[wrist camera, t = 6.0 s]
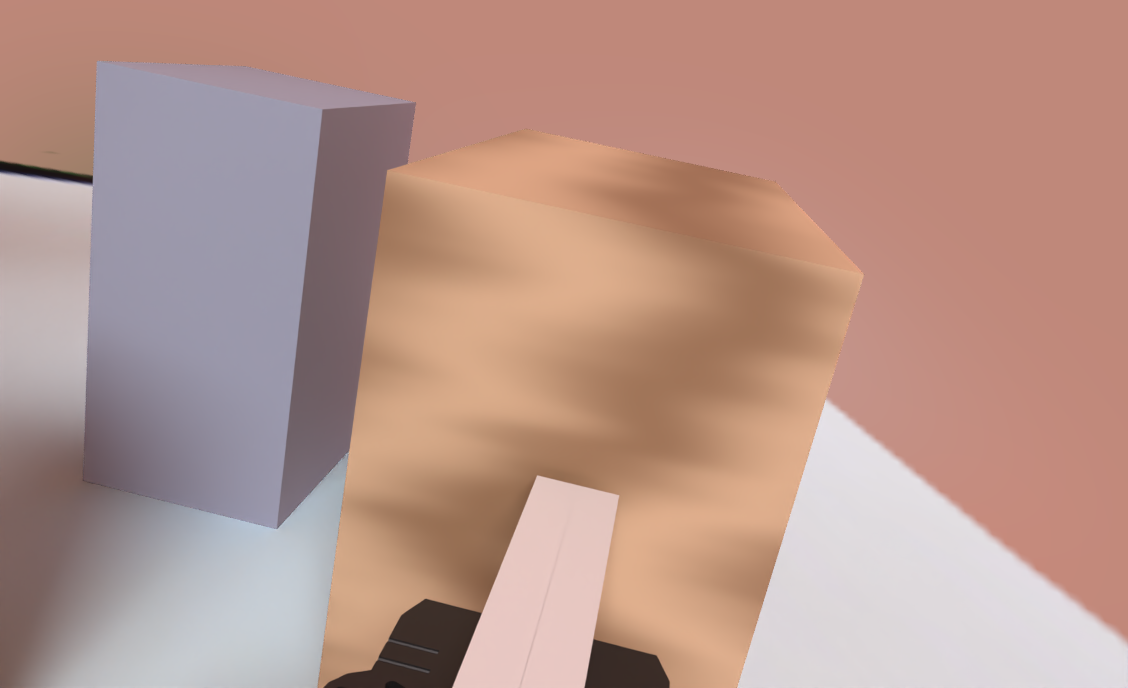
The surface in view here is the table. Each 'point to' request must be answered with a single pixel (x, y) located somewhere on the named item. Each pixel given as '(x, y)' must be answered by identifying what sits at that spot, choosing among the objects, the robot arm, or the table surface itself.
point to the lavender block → (230, 280)
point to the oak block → (586, 388)
